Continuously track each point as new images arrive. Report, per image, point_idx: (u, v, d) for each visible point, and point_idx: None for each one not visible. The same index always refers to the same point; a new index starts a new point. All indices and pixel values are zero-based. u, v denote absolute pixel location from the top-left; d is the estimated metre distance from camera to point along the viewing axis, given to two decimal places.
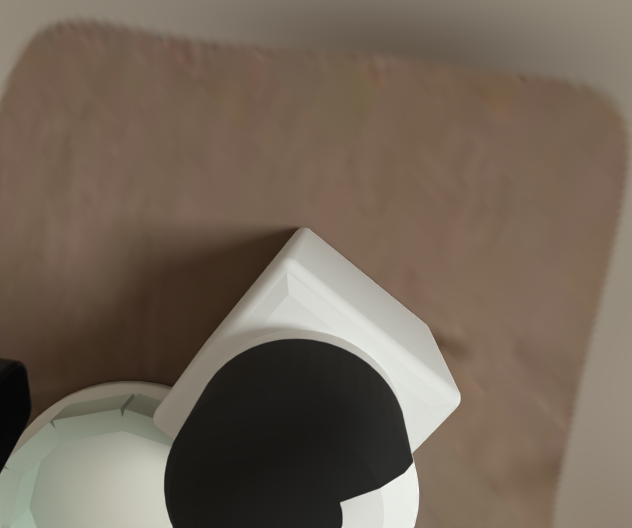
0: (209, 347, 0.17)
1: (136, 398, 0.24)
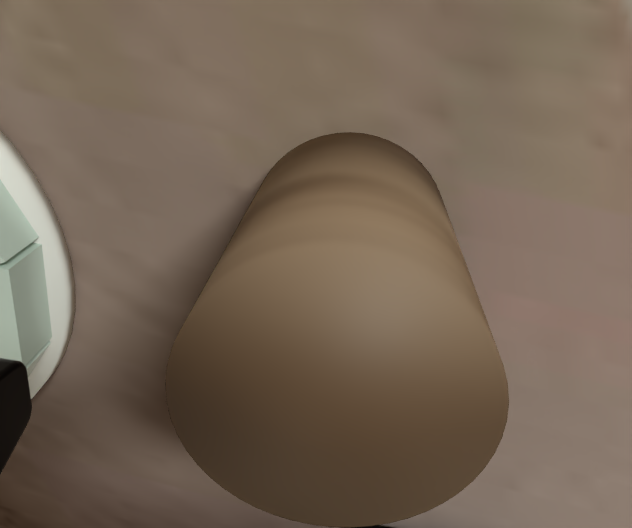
0: None
1: None
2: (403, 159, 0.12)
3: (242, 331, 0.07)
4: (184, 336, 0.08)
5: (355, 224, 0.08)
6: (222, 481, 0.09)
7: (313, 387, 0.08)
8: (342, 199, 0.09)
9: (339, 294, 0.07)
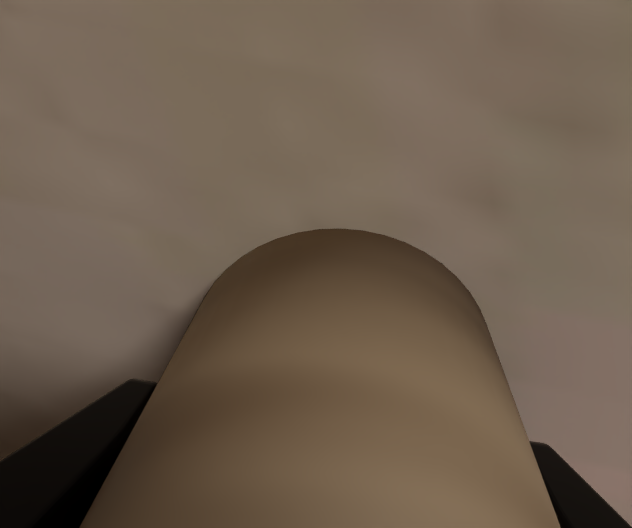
0: None
1: None
2: (431, 289, 0.07)
3: None
4: None
5: None
6: None
7: None
8: (311, 497, 0.04)
9: None
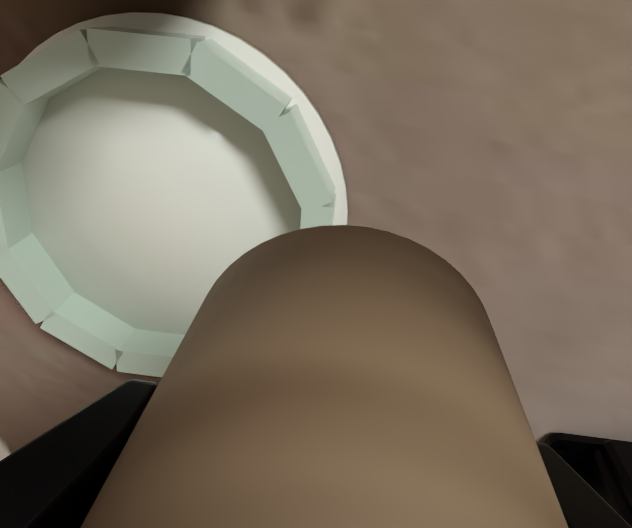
0: None
1: None
2: (436, 285, 0.07)
3: None
4: None
5: None
6: None
7: None
8: (318, 492, 0.04)
9: None
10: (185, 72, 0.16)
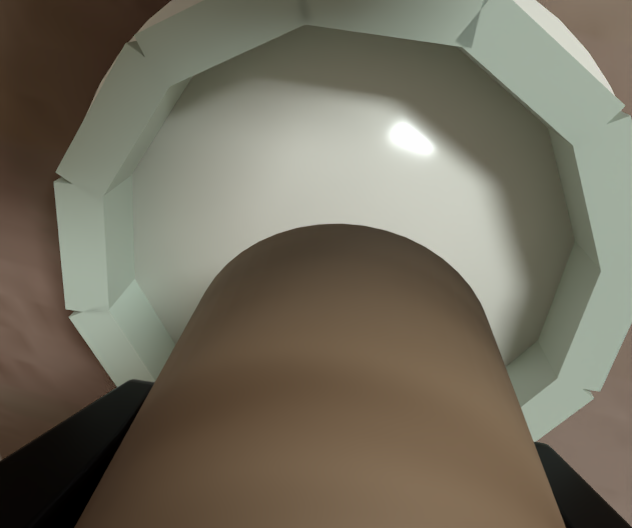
0: None
1: None
2: (433, 283, 0.07)
3: None
4: None
5: None
6: None
7: None
8: (313, 491, 0.04)
9: None
10: (463, 41, 0.09)
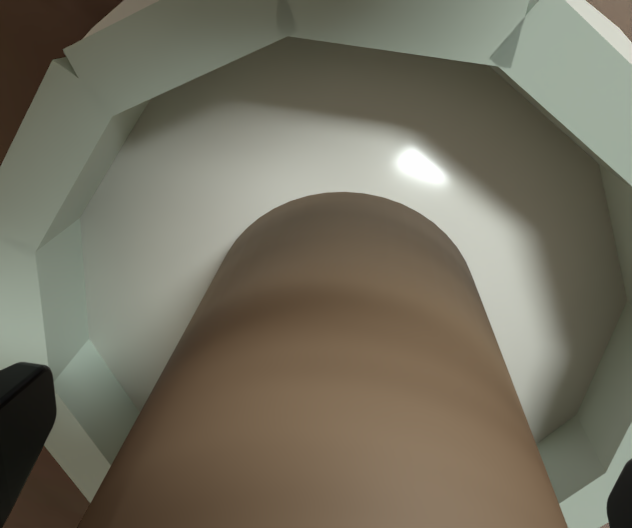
0: None
1: None
2: (423, 238, 0.08)
3: None
4: None
5: (353, 444, 0.04)
6: None
7: None
8: (330, 360, 0.05)
9: None
10: (500, 59, 0.07)
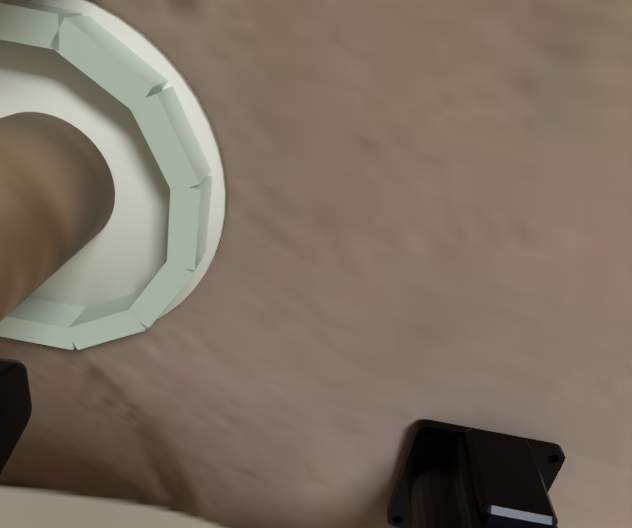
0: None
1: None
2: (52, 131, 0.17)
3: None
4: None
5: None
6: None
7: None
8: None
9: None
10: (53, 46, 0.16)
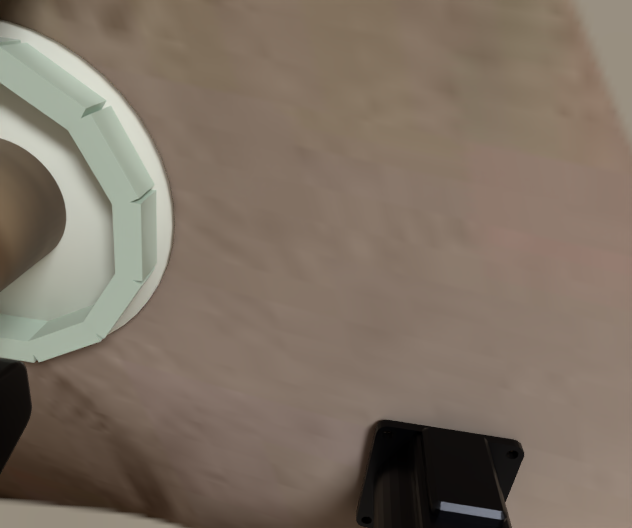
0: None
1: None
2: None
3: None
4: None
5: None
6: None
7: None
8: None
9: None
10: None
